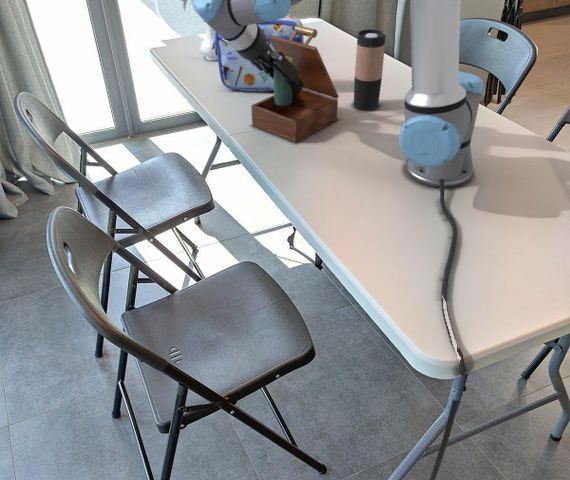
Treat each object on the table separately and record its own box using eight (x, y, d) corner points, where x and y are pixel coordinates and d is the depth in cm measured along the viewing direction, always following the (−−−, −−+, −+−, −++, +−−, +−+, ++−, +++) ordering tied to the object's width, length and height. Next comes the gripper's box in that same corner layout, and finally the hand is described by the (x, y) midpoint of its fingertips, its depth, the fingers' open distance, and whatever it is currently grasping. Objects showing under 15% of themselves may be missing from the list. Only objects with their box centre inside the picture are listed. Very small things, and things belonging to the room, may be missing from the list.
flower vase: (184, 55, 193) (172, -24, 176) (234, 49, 197) (228, -29, 180) (190, 68, 184) (179, -14, 167) (243, 61, 188) (237, -20, 171)
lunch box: (214, 93, 168) (205, 16, 153) (220, 80, 175) (213, 6, 161) (302, 94, 165) (303, 17, 150) (305, 81, 173) (305, 6, 158)
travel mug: (348, 108, 157) (352, 35, 144) (358, 98, 162) (363, 27, 149) (373, 113, 155) (380, 39, 141) (382, 103, 160) (390, 31, 146)
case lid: (314, 49, 132) (329, 27, 132) (267, 36, 140) (281, 16, 140) (337, 98, 148) (350, 79, 148) (293, 84, 156) (306, 66, 156)
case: (295, 143, 142) (295, 121, 138) (252, 126, 150) (251, 105, 146) (337, 119, 152) (338, 99, 148) (294, 105, 160) (294, 85, 156)
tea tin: (284, 107, 141) (283, 64, 134) (270, 102, 143) (268, 60, 136) (296, 101, 144) (296, 59, 136) (282, 96, 146) (281, 54, 139)
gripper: (281, 28, 119) (325, 80, 139) (224, 13, 127) (274, 64, 148) (266, 60, 119) (312, 107, 139) (210, 43, 128) (261, 90, 148)
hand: (292, 85), depth 143 cm, fingers closed on tea tin, 5 cm apart
